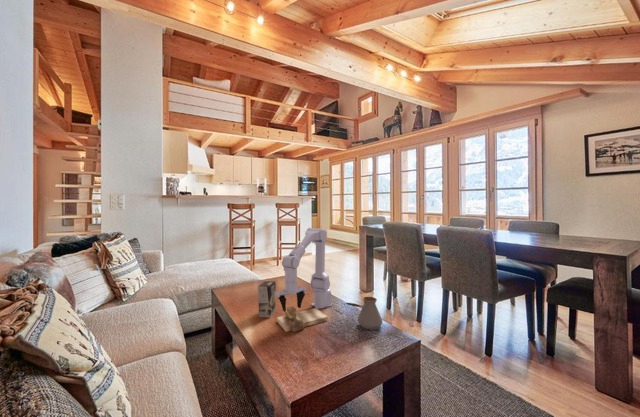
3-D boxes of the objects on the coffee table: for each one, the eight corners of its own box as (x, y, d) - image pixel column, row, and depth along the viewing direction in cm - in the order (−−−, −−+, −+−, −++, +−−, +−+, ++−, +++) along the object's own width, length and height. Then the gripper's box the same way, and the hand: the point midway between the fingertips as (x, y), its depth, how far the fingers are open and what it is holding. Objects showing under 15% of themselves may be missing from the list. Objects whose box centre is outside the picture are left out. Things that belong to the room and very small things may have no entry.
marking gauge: (291, 318, 135) (291, 303, 135) (303, 329, 123) (303, 312, 123) (282, 320, 132) (282, 305, 132) (293, 332, 121) (292, 315, 121)
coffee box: (270, 318, 136) (269, 286, 136) (258, 317, 137) (257, 285, 137) (276, 310, 145) (276, 281, 144) (265, 309, 146) (264, 280, 146)
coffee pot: (368, 318, 134) (368, 288, 134) (387, 326, 125) (387, 295, 125) (336, 332, 121) (336, 299, 120) (355, 342, 112) (355, 307, 111)
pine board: (316, 311, 143) (316, 307, 143) (327, 320, 132) (327, 316, 132) (276, 321, 132) (276, 317, 132) (286, 331, 122) (286, 327, 122)
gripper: (279, 285, 121) (280, 315, 121) (308, 280, 128) (309, 308, 128) (274, 281, 127) (275, 310, 127) (302, 276, 134) (302, 303, 134)
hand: (291, 309), depth 128 cm, fingers open, 7 cm apart
